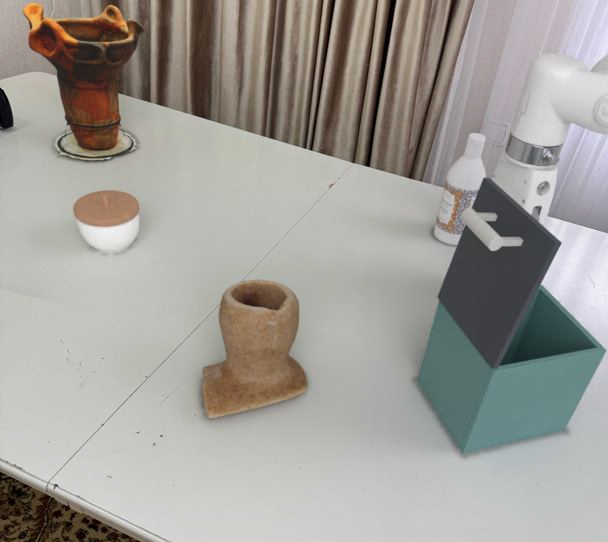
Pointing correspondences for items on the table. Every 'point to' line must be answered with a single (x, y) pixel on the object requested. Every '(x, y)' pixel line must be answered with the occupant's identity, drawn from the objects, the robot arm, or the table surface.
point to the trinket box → (108, 219)
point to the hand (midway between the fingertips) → (498, 254)
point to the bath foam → (460, 190)
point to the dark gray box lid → (496, 270)
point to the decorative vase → (87, 76)
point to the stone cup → (255, 350)
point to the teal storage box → (510, 377)
